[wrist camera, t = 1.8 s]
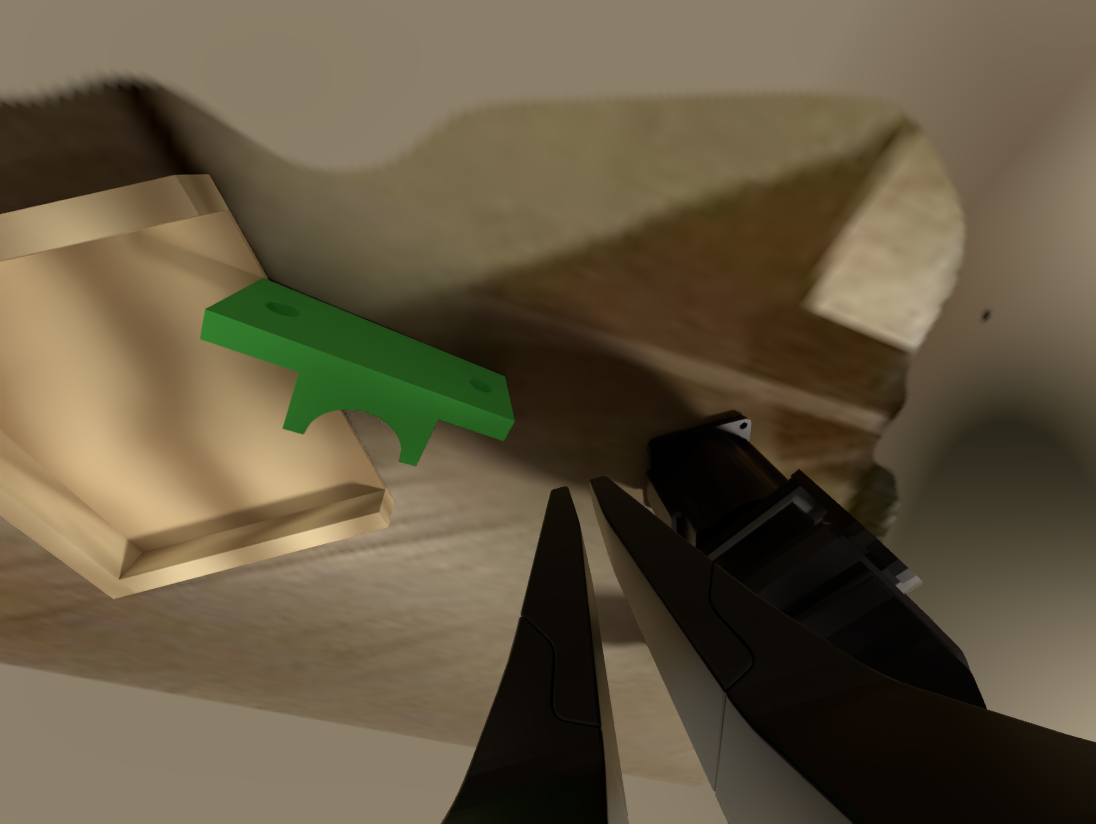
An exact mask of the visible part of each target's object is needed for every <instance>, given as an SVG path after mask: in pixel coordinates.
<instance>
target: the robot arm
mask: <svg viewBox="0 0 1096 824" xmlns="http://www.w3.org/2000/svg"><path fill="white" fill-rule="evenodd" d="M742 423H743V424H742ZM741 424H742V425H741ZM750 431H751V421H750V420H749V419H748V418H747V417H746V416H738V417H734V418H730V419H726V420H722V421H719V422H715V423H711V424H707V425H703V426H699V427H696V428H692V429H688V430H684V431H680V432H676V433H672V434H669V435H665V436H661V437H657V438H654V439H652V440H651V441H650V442H649V443H648V457H649V470H647V472H646V486H647V499H648V502H649V504H650V506H651V507H652V509H653V511H654V513H655V515H656V516H655V515H654V514H653V513H652V512H650V511H649V510H648V509H647V508H645V507H644V506H643V505H642V504H640V503H639V502H638V501H637V500H635V499H634V498H633V497H632V496H630V495H629V494H628V493H626V492H625V491H624V490H623V489H621V488H620V487H619V486H618V485H616V484H615V483H614V482H613V481H611V480H610V479H609V478H608V477H606V476H602V477H599V478H595V479H591V480H590V482H589V484H590V490H591V496H592V501H593V506H594V510H595V514H596V517H597V520H598V523H599V526H600V529H601V533H602V536H603V539H604V542H605V545H606V549H607V552H608V555H609V558H610V561H611V564H612V567H613V570H614V572H615V575H616V577H617V579H618V582H619V584H620V586H621V588H622V590H623V593H624V595H625V597H626V599H627V601H628V604H629V606H630V608H631V610H632V612H633V615H634V617H635V619H636V621H637V624H638V626H639V628H640V630H641V632H642V635H643V637H644V639H645V641H646V643H647V646H648V648H649V650H650V652H651V654H652V657H653V659H654V661H655V663H656V665H657V668H658V670H659V672H660V674H661V676H662V679H663V681H664V683H665V685H666V687H667V690H668V692H669V694H670V696H671V698H672V701H673V703H674V705H675V707H676V709H677V712H678V714H679V716H680V718H681V720H682V723H683V725H684V727H685V729H686V732H687V734H688V736H689V738H690V740H691V743H692V745H693V747H694V749H695V751H696V754H697V756H698V758H699V760H700V762H701V765H702V767H703V769H704V771H705V773H706V776H707V778H708V780H709V782H710V784H711V787H712V788H713V791H715V795H716V798H717V800H718V802H719V804H720V807H721V809H722V811H723V813H724V815H725V817H726V820H727V822H728V824H1096V742H1093V741H1089V740H1085V739H1082V738H1078V737H1074V736H1071V735H1067V734H1064V733H1061V732H1057V731H1055V730H1051V729H1048V728H1045V727H1042V726H1039V725H1035V724H1032V723H1029V722H1025V721H1022V720H1019V719H1016V718H1013V717H1010V716H1006V715H1003V714H1000V713H997V712H994V711H991V710H987V708H986V705H985V703H984V700H983V698H982V696H981V693H980V691H979V688H978V686H977V684H976V682H975V679H974V677H973V675H972V673H971V671H970V669H969V666H968V663H967V660H966V658H965V656H964V654H963V652H962V651H961V649H960V648H959V647H958V646H957V645H956V644H955V643H954V642H953V641H952V639H951V638H950V637H949V636H948V635H947V634H946V633H945V632H944V631H943V630H942V629H941V628H940V627H939V626H938V625H937V624H936V623H935V622H934V620H933V619H932V618H931V617H930V616H929V615H927V614H926V613H925V612H924V611H923V610H922V609H921V608H920V607H919V606H918V605H917V604H916V603H915V602H914V601H913V600H912V599H911V598H910V597H909V596H908V595H907V594H906V593H908V592H909V591H912V590H914V589H915V588H917V587H919V586H920V585H922V584H923V582H922V581H921V580H920V579H919V578H918V577H917V576H916V575H915V574H914V573H913V572H912V571H911V570H910V569H909V568H908V567H907V566H905V564H903V563H902V562H901V561H900V560H899V559H898V558H897V557H896V556H895V555H894V554H893V553H892V552H891V551H890V550H889V549H888V548H886V547H885V546H884V545H883V544H882V543H881V542H880V541H879V540H878V539H877V538H876V537H875V536H873V535H872V534H871V533H870V532H869V531H868V530H867V529H866V528H865V527H864V526H863V525H861V524H860V523H859V522H858V521H857V520H856V519H855V518H854V517H853V516H851V515H850V514H849V513H848V512H847V511H846V510H845V509H844V508H842V507H841V506H840V505H839V504H838V503H837V502H836V501H835V500H833V499H832V498H831V497H830V496H829V495H828V494H827V493H826V492H824V491H823V490H822V489H821V488H820V487H819V486H818V485H817V484H815V483H814V482H813V481H812V480H811V479H810V478H809V477H808V476H806V475H805V474H804V473H803V472H802V471H801V470H800V469H799V470H797V471H796V472H795V473H793V474H792V475H791V478H790V479H789V480H788V479H787V478H786V477H785V476H784V475H783V474H782V473H781V472H780V471H779V470H778V469H777V468H775V467H774V466H773V465H772V464H771V463H770V462H769V461H768V460H767V459H766V458H765V457H764V456H763V455H762V454H761V453H760V452H759V451H758V450H757V449H756V448H755V447H754V446H753V445H752V444H751V443H750V442H749V441H750ZM657 445H659V446H658V447H656V448H654V447H655V446H657ZM441 824H629V821H628V813H627V806H626V800H625V793H624V787H623V780H622V773H621V767H620V760H619V754H618V747H617V741H616V734H615V727H614V721H613V714H612V708H611V701H610V695H609V688H608V681H607V675H606V668H605V662H604V655H603V648H602V642H601V635H600V629H599V622H598V616H597V609H596V602H595V596H594V589H593V583H592V578H591V573H590V568H589V564H588V559H587V555H586V550H585V545H584V541H583V536H582V532H581V527H580V523H579V519H578V516H577V513H576V510H575V507H574V504H573V500H572V497H571V494H570V491H569V489H568V487H566V486H564V487H560V488H557V489H553V490H552V491H551V492H550V496H549V500H548V504H547V508H546V512H545V516H544V520H543V525H542V529H541V533H540V537H539V541H538V545H537V549H536V553H535V557H534V561H533V565H532V569H531V573H530V577H529V581H528V585H527V589H526V593H525V597H524V601H523V605H522V610H521V617H520V618H519V621H518V625H517V629H516V633H515V637H514V640H513V644H512V648H511V651H510V655H509V658H508V662H507V665H506V667H505V670H504V673H503V676H502V679H501V682H500V685H499V688H498V691H497V693H496V696H495V699H494V701H493V704H492V707H491V710H490V712H489V715H488V718H487V720H486V723H485V726H484V728H483V731H482V734H481V736H480V739H479V742H478V744H477V747H476V750H475V752H474V755H473V758H472V760H471V763H470V766H469V768H468V771H467V773H466V776H465V778H464V781H463V783H462V785H461V787H460V790H459V792H458V794H457V796H456V798H455V800H454V802H453V804H452V806H451V807H450V809H449V811H448V813H447V814H446V816H445V818H444V819H443V821H442V823H441Z"/></svg>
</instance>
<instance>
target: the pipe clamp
mask: <svg viewBox="0 0 1096 824" xmlns="http://www.w3.org/2000/svg"><path fill="white" fill-rule="evenodd" d="M200 339H201V340H204V341H207V342H210V343H213V344H216V345H219V346H222V347H225V348H228V349H231V350H233V351H236V352H239V353H242V354H245V355H248V356H251V357H254V358H257V359H260V360H263V361H266V362H269V363H272V364H275V365H278V366H281V367H284V368H287V369H290V370H293V371H296V372H299V373H298V377H297V380H296V384H295V387H294V391H293V394H292V397H291V401H290V404H289V408H288V411H287V415H286V418H285V421H284V425H283V428H282V429H285V430H289V431H292V432H296V433H299V434H303V435H304V433H305V431H306V430H307V428H308V426H309V425H310V423H311V422H312V421H313V420H315V419H316V418H318V417H319V416H321V415H323V414H325V413H328V412H331V411H336V410H358V411H363V412H366V413H369V414H372V415H374V416H376V417H378V418H380V419H382V420H383V421H385V422H386V423H387V424H388V425H389V426H390V427H391V428H392V429H393V430H394V431H395V433H396V434H397V436H398V438H399V441H400V444H401V454H400V459H399V462H402V463H406V464H409V465H413V466H416V465H417V463H418V461H419V459H420V457H421V455H422V453H423V451H424V449H425V446H426V444H427V442H428V440H429V438H430V436H431V434H432V432H433V430H434V427H435V425H436V423H437V421H438V419H439V420H442V421H445V422H448V423H451V424H454V425H457V426H460V427H463V428H466V429H469V430H472V431H475V432H478V433H480V434H483V435H486V436H489V437H492V438H495V439H498V440H501V441H504V440H505V438H506V436H507V434H508V433H509V431H510V429H511V427H512V426H513V424H514V422H515V419H514V415H513V410H512V406H511V401H510V397H509V392H508V388H507V383H506V378H505V376H503V375H500V374H498V373H495V372H493V371H490V370H488V369H486V368H483V367H481V366H478V365H476V364H473V363H471V362H468V361H466V360H463V359H461V358H458V357H456V356H454V355H451V354H449V353H446V352H444V351H441V350H439V349H436V348H434V347H431V346H429V345H427V344H424V343H422V342H419V341H417V340H414V339H412V338H409V337H407V336H404V335H402V334H400V333H397V332H395V331H392V330H390V329H387V328H385V327H382V326H380V325H377V324H375V323H372V322H370V321H368V320H365V319H363V318H360V317H358V316H355V315H353V314H350V313H348V312H345V311H343V310H341V309H338V308H336V307H333V306H331V305H328V304H326V303H323V302H321V301H318V300H316V299H313V298H311V297H309V296H306V295H304V294H301V293H299V292H296V291H294V290H291V289H289V288H286V287H284V286H282V285H279V284H277V283H274V282H272V281H269V280H267V279H264V278H262V279H260V280H258V281H256V282H254V283H252V284H251V285H249V286H247V287H245V288H243V289H241V290H239V291H238V292H236V293H234V294H232V295H230V296H228V297H227V298H225V299H223V300H221V301H219V302H217V303H215V304H214V305H212V306H210V307H208V308H206V309H205V312H204V318H203V323H202V329H201V335H200Z"/></svg>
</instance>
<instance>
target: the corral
mask: <svg viewBox="0 0 1096 824" xmlns="http://www.w3.org/2000/svg"><path fill="white" fill-rule="evenodd" d="M262 278H264V279H267V280H268V278H267V276H266V274H265V272H264V271H263V269H262V267H261V265H260V264H259V262H258V260H257V258H256V257H255V255H254V253H253V251H252V249H251V248H250V246H249V244H248V242H247V241H246V239H245V237H244V235H243V234H242V232H241V230H240V228H239V226H238V225H237V223H236V221H235V219H234V218H233V216H232V214H231V212H230V211H229V209H228V207H227V205H226V203H225V202H224V200H223V198H222V196H221V195H220V193H219V191H218V189H217V188H216V186H215V184H214V182H213V180H212V179H211V177H210V175H209V174H201V175H173V176H168V177H164V178H159V179H155V180H150V181H146V182H142V183H137V184H133V185H128V186H124V187H119V188H115V189H110V190H106V191H102V192H97V193H93V194H88V195H84V196H79V197H75V198H70V199H66V200H61V201H57V202H53V203H48V204H44V205H39V206H35V207H30V208H26V209H21V210H17V211H13V212H8V213H4V214H0V516H2V517H3V518H4V519H6V520H7V521H8V522H10V523H11V524H13V525H14V526H15V527H17V528H18V529H19V530H21V531H22V532H23V533H25V534H26V535H27V536H29V537H30V538H31V539H33V540H34V541H36V542H37V543H38V544H40V545H41V546H42V547H44V548H45V549H46V550H48V551H49V552H50V553H52V554H53V555H55V556H56V557H57V558H59V559H60V560H61V561H63V562H64V563H65V564H67V565H68V566H69V567H71V568H72V569H74V570H75V571H76V572H78V573H79V574H80V575H82V576H83V577H84V578H86V579H87V580H88V581H90V582H91V583H92V584H94V585H95V586H97V587H98V588H99V589H101V590H102V591H103V592H105V593H106V594H107V595H109V596H110V597H111V598H113V599H115V598H119V597H123V596H127V595H131V594H134V593H138V592H142V591H146V590H150V589H153V588H157V587H161V586H165V585H169V584H173V583H176V582H180V581H184V580H188V579H192V578H195V577H199V576H203V575H207V574H211V573H214V572H218V571H222V570H226V569H230V568H234V567H237V566H241V565H245V564H249V563H253V562H256V561H260V560H264V559H268V558H272V557H275V556H279V555H283V554H287V553H291V552H295V551H298V550H302V549H306V548H310V547H314V546H317V545H321V544H325V543H329V542H333V541H337V540H340V539H344V538H348V537H352V536H356V535H359V534H363V533H367V532H371V531H375V530H378V529H382V528H386V527H388V526H389V522H390V517H391V513H392V509H393V504H394V501H393V499H392V497H391V495H390V494H389V492H388V490H387V488H386V487H385V485H384V483H383V481H382V479H381V478H380V476H379V474H378V472H377V471H376V469H375V467H374V465H373V464H372V462H371V460H370V458H369V456H368V455H367V453H366V451H365V449H364V448H363V446H362V444H361V442H360V441H359V439H358V437H357V435H356V433H355V432H354V430H353V428H352V426H351V425H350V423H349V421H348V419H347V418H346V416H345V414H344V412H343V410H336V411H331V412H328V413H325V414H323V415H321V416H319V417H318V418H316V419H315V420H313V421H312V422H311V423H310V425H309V426H308V428H307V430H306V431H305V433H304V435H303V434H299V433H296V432H292V431H289V430H285V429H282V428H283V425H284V421H285V418H286V415H287V411H288V408H289V404H290V401H291V397H292V394H293V391H294V387H295V384H296V380H297V377H298V373H299V372H296V371H293V370H290V369H287V368H284V367H281V366H278V365H275V364H272V363H269V362H266V361H263V360H260V359H257V358H254V357H251V356H248V355H245V354H242V353H239V352H236V351H233V350H231V349H228V348H225V347H222V346H219V345H216V344H213V343H210V342H207V341H204V340H201V339H200V335H201V329H202V323H203V318H204V312H205V309H206V308H208V307H210V306H212V305H214V304H215V303H217V302H219V301H221V300H223V299H225V298H227V297H228V296H230V295H232V294H234V293H236V292H238V291H239V290H241V289H243V288H245V287H247V286H249V285H251V284H252V283H254V282H256V281H258V280H260V279H262Z"/></svg>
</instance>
